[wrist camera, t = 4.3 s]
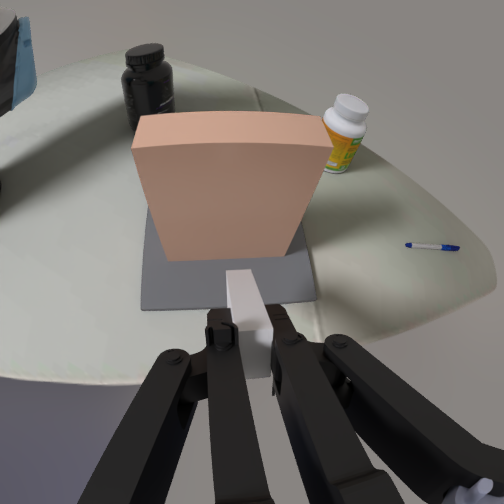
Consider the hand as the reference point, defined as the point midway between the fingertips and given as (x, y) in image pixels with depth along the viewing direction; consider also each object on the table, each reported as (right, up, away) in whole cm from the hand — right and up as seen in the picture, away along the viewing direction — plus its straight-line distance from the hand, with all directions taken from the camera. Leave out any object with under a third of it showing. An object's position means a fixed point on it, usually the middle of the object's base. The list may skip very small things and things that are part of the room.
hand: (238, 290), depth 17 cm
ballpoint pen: (+24, +3, +14) cm, 28 cm away
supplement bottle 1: (-14, +21, +18) cm, 31 cm away
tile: (-2, +3, +9) cm, 10 cm away
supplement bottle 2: (+11, +14, +18) cm, 25 cm away
